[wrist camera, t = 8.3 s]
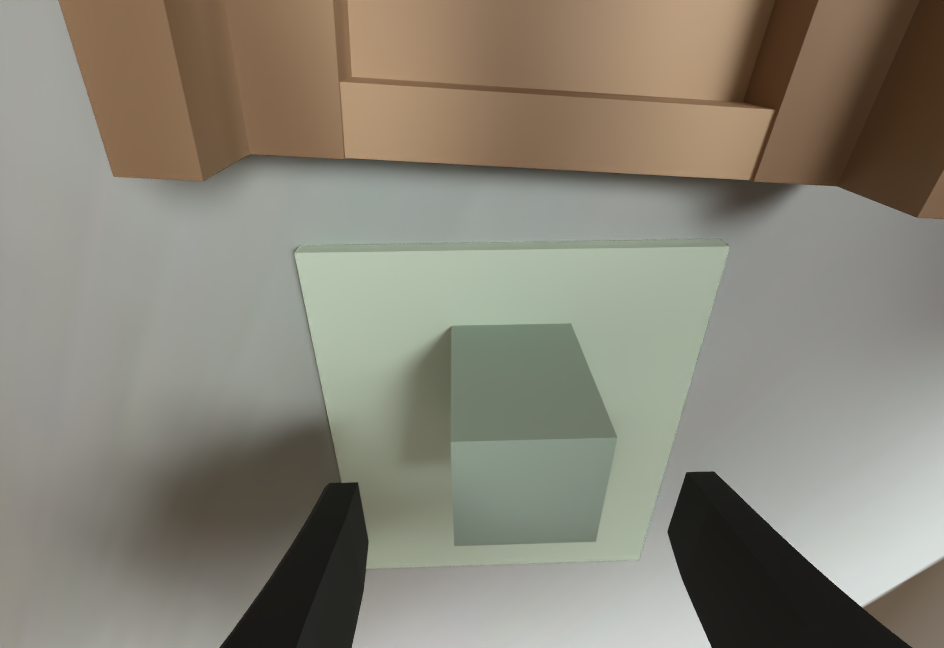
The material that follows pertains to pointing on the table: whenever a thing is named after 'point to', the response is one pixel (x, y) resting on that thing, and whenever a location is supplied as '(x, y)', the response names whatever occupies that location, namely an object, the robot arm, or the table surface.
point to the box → (528, 87)
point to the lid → (507, 390)
